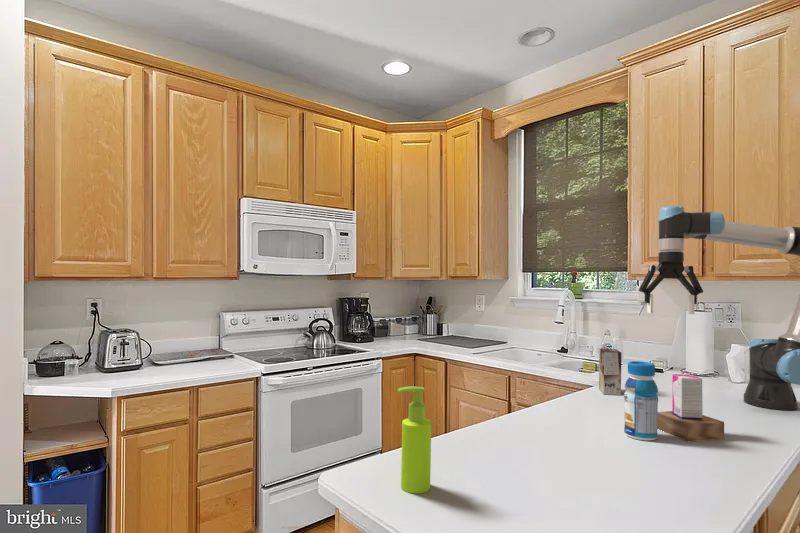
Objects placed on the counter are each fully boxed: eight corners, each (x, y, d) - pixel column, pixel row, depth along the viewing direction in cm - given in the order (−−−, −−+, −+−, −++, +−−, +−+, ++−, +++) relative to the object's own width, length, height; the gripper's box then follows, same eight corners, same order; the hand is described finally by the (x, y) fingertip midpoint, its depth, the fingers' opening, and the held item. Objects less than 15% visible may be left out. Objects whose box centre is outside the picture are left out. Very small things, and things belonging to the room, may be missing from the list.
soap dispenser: (394, 481, 100) (396, 384, 100) (427, 480, 101) (429, 384, 101) (397, 493, 94) (399, 390, 95) (432, 493, 95) (434, 390, 95)
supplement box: (703, 420, 133) (703, 378, 133) (681, 419, 134) (680, 377, 134) (693, 413, 139) (692, 373, 139) (671, 413, 140) (670, 373, 140)
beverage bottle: (650, 443, 126) (651, 367, 127) (618, 435, 133) (618, 362, 133) (663, 437, 132) (663, 363, 132) (631, 429, 138) (632, 359, 139)
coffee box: (621, 395, 179) (622, 352, 180) (603, 394, 181) (603, 351, 181) (615, 390, 188) (615, 348, 189) (598, 389, 190) (598, 348, 190)
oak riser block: (687, 427, 144) (687, 410, 144) (724, 440, 132) (724, 421, 132) (654, 429, 141) (654, 412, 141) (688, 443, 129) (688, 424, 129)
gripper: (702, 252, 169) (702, 313, 168) (629, 251, 171) (628, 311, 170) (715, 251, 161) (714, 315, 161) (638, 250, 163) (637, 313, 163)
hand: (670, 313), depth 166 cm, fingers open, 13 cm apart
